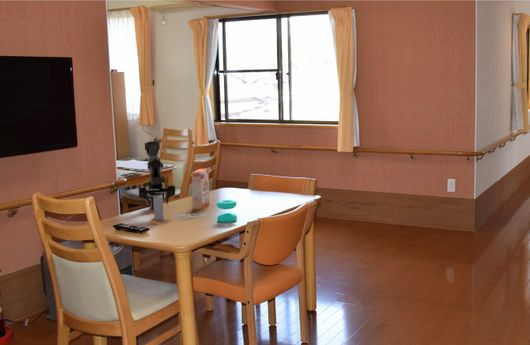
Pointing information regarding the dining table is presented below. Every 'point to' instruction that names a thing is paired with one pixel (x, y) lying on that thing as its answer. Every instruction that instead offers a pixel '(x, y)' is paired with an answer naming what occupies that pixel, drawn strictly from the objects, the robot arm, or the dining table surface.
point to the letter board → (189, 215)
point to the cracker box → (200, 188)
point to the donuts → (226, 216)
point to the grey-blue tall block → (158, 207)
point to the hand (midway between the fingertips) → (158, 204)
